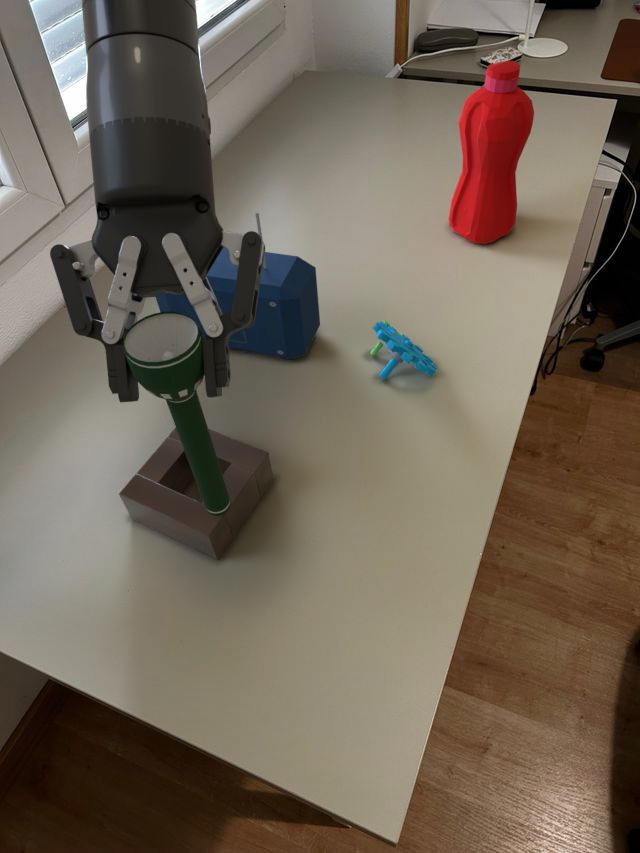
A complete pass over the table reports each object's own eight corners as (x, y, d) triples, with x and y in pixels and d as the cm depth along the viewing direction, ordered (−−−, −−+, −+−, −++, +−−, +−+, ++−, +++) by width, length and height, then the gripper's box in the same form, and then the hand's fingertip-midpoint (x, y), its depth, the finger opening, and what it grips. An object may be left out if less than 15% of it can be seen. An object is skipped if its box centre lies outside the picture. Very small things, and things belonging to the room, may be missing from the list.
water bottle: (474, 202, 110) (495, 41, 91) (521, 230, 104) (554, 64, 85) (432, 222, 107) (445, 60, 88) (479, 252, 101) (503, 84, 82)
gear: (453, 377, 81) (400, 347, 76) (423, 412, 84) (369, 385, 78) (415, 333, 90) (365, 303, 84) (389, 366, 92) (337, 338, 86)
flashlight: (240, 476, 58) (192, 302, 43) (254, 522, 55) (208, 351, 40) (185, 493, 58) (116, 321, 42) (196, 540, 54) (126, 373, 39)
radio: (323, 325, 92) (313, 196, 77) (304, 367, 87) (289, 238, 72) (191, 303, 97) (158, 179, 82) (165, 342, 92) (124, 216, 77)
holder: (217, 560, 69) (208, 536, 65) (131, 519, 73) (118, 493, 69) (274, 478, 75) (269, 452, 71) (192, 445, 79) (183, 418, 76)
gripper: (11, 121, 38) (40, 409, 39) (254, 102, 37) (274, 394, 39) (65, 162, 45) (87, 403, 47) (268, 147, 45) (284, 390, 46)
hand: (172, 397), depth 43 cm, fingers closed on flashlight, 5 cm apart
